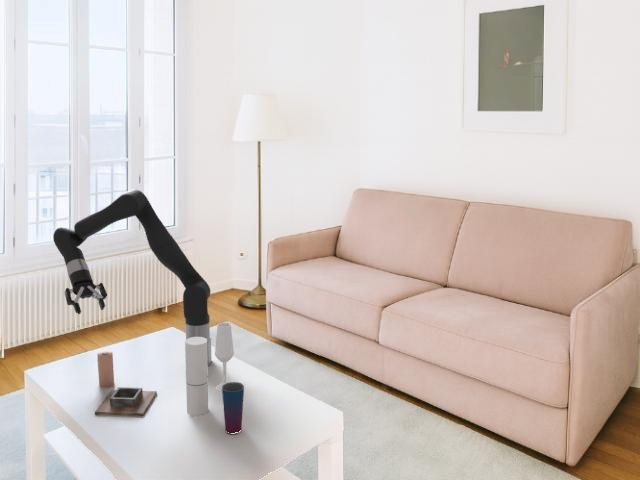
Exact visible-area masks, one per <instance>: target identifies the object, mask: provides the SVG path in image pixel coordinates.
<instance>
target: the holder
mask: <svg viewBox="0 0 640 480" xmlns="http://www.w3.org/2000/svg"><path fill="white" fill-rule="evenodd" d="M157 393H158V392H157V390H143V387H129V386H128V387H127V386H124V387H122V386H119V387H117V388H116V389H111V390H110V391H109V393H108V394H107V395H106V396H105V398H104V399H103V401H102V402H101V403H100V405H99V406H98V407H97V408H96V410H95V411H94V415H96V416H97V415H99V416H122V417H123V416H127V417H128V416H129V417H144V416H145V414H146V412H147V411H148V409H149V407H150V406H151V404H152V402H153V401H154V399H155V397H156V396H157Z"/></svg>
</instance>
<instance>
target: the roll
mask: <svg viewBox="0 0 640 480" xmlns="http://www.w3.org/2000/svg"><path fill="white" fill-rule="evenodd" d="M96 355H97V370H98V371H97V372H98V385H99V387H100V388H101V389H102V388H103V389H105V388H106V389H107V388H111V387H113V386H114V385H115V373H114V372H115V371H114V355H113V352H112V351H111V350H102V351H99V352H97V354H96Z"/></svg>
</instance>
